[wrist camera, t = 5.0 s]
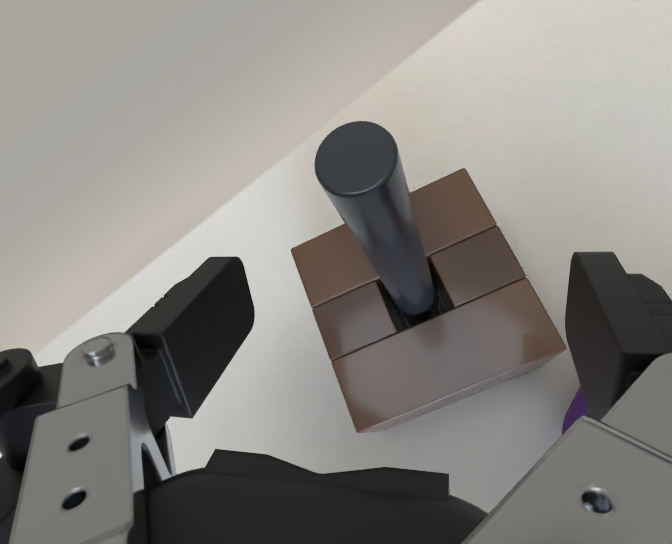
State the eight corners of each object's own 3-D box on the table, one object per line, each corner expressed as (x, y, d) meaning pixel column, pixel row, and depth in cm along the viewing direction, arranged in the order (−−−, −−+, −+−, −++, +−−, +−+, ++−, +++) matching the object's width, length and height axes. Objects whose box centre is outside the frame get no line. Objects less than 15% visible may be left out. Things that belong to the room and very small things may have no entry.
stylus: (417, 342, 20) (330, 210, 8) (404, 313, 21) (301, 143, 8) (447, 329, 20) (411, 171, 7) (434, 300, 21) (377, 106, 8)
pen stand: (382, 430, 20) (356, 434, 15) (326, 283, 22) (289, 248, 18) (543, 365, 19) (567, 348, 14) (465, 220, 21) (464, 166, 17)
